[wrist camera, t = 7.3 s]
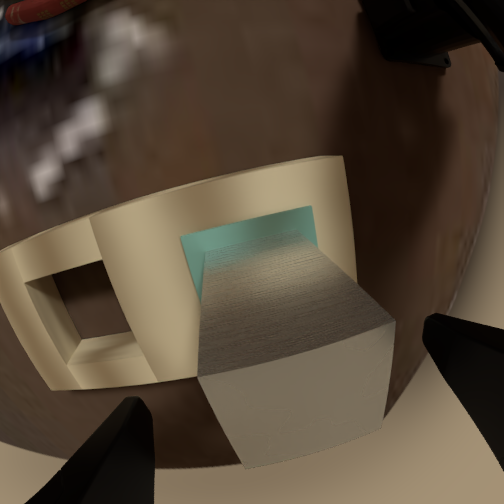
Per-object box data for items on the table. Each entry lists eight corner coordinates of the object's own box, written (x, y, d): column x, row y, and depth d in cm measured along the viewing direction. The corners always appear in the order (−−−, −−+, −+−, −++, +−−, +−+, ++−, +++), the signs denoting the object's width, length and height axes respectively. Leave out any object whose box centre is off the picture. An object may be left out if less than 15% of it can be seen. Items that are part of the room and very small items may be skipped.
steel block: (296, 229, 13) (395, 320, 5) (308, 308, 14) (381, 428, 7) (205, 251, 13) (197, 377, 5) (228, 328, 14) (245, 469, 6)
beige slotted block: (320, 155, 15) (344, 155, 12) (339, 309, 18) (360, 335, 15) (8, 246, 14) (-19, 261, 11) (65, 365, 17) (50, 392, 14)
